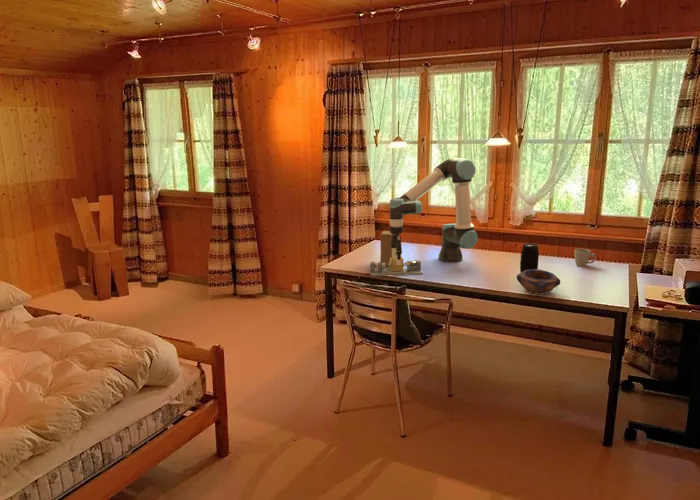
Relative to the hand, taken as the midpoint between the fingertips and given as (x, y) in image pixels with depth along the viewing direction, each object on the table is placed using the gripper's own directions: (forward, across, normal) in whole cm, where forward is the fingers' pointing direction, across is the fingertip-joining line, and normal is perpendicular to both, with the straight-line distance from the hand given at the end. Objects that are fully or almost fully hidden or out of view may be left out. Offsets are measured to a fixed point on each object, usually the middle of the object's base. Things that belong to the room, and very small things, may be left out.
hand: (396, 261), depth 302 cm
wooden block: (+7, -20, 0) cm, 21 cm away
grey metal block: (+7, -1, +10) cm, 12 cm away
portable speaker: (+8, +21, +70) cm, 74 cm away
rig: (+7, 0, 0) cm, 7 cm away
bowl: (+8, +45, +65) cm, 79 cm away
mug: (+9, 0, +116) cm, 116 cm away
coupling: (+6, 0, 0) cm, 6 cm away
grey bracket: (+7, -1, -11) cm, 13 cm away
